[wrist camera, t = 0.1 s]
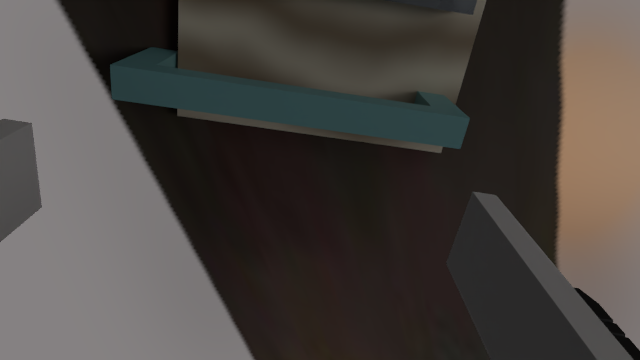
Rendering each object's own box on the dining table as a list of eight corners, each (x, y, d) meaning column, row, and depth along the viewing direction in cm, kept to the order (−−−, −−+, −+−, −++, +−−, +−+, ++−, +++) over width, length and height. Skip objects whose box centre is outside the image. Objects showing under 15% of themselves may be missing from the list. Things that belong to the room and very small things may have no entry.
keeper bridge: (151, 46, 38) (110, 64, 30) (439, 91, 40) (469, 118, 32) (151, 75, 39) (111, 99, 31) (432, 116, 41) (460, 148, 33)
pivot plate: (185, -146, 32) (139, -190, 23) (504, -86, 34) (567, -107, 25) (181, 111, 40) (147, 146, 32) (436, 147, 42) (467, 189, 34)
